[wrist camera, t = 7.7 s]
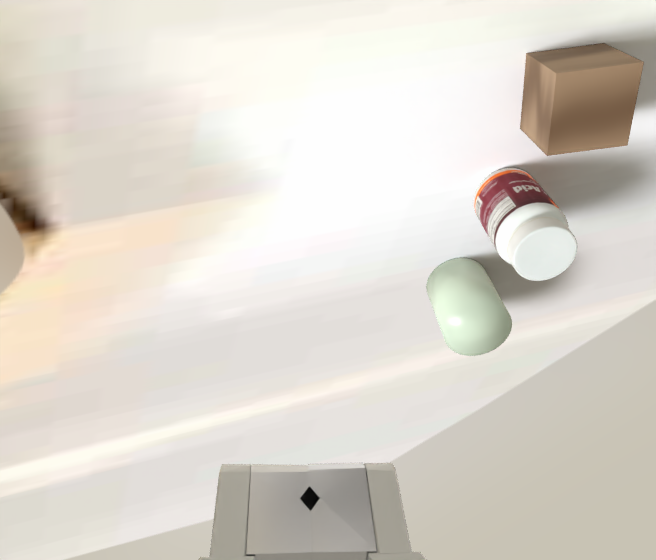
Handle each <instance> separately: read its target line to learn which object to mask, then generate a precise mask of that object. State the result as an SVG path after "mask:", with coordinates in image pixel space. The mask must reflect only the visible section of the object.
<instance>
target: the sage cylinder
mask: <svg viewBox="0 0 656 560" xmlns="http://www.w3.org/2000/svg"><path fill="white" fill-rule="evenodd" d="M426 288H427V294H428V296H429V299H430V302H431V304H432V307H433V310H434V313H435V315H436V318H437V321H438V323H439V326H440V329H441V331H442V334H443V337H444V339H445V342H446V344H447V345H448V347H449V348H450V349H451V350H453V351H454V352H456V353H458V354H461V355H466V356H476V355H481V354H485V353H488V352H490V351H492V350H494V349H496V348H497V347H499V346H500V345H501V344H502V343H503V342H504V341H505V340H506V339H507V337H508V336H509V334H510V331H511V327H512V320H511V317H510V315H509V313H508V311H507V309H506V307H505V306H504V304H503V302H502V300H501V298H500V296H499V295H498V293H497V291H496V289H495V287H494V286H493V284H492V282H491V280H490V278H489V276H488V275H487V273H486V271H485V269H484V268H483V266H482V265H481V264H480V263H478V262H477V261H475V260H472V259H469V258H455V259H451V260H448V261H446V262H444V263H442V264H441V265H439V266H438V267H437V268H435V269H434V271H433V272H432V273H431V274H430V276H429V278H428V281H427V286H426Z"/></svg>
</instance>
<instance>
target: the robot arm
mask: <svg viewBox="0 0 656 560" xmlns="http://www.w3.org/2000/svg"><path fill="white" fill-rule="evenodd" d="M199 560H427V559H426V558H425V557H424V556H423V554H421V552H412V551H411V546H410V541H409V536H408V530H407V526H406V520H405V515H404V510H403V505H402V500H401V494H400V490H399V484H398V479H397V474H396V469H395V467H394V465H393V464H392V463H364V464H363V463H325V464H308V465H263V464H252V466H251V464H222V466H221V469H220V472H219V479H218V487H217V496H216V505H215V513H214V523H213V530H212V539H211V548H210V556H209V557H200V558H199Z"/></svg>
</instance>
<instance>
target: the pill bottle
mask: <svg viewBox="0 0 656 560" xmlns="http://www.w3.org/2000/svg"><path fill="white" fill-rule="evenodd" d="M473 207H474V211H475V213H476V215H477V217H478V219H479V220H480V222H481V224H482V226H483V227H484V229H485V231H486V233H487V234H488V236H489V238H490V240H491V241H492V243H493V245H494V247H495V248H496V250H497V252H498V254H499V255H500V257H501V258H502V259H503V260H505V261H506V262H508V263H509V264H511V265H513V267H514V269H515V270H516V271H517V273H518V274H519V275H521V276H522V277H524V278H526V279H528V280H533V281H542V280H548V279H551V278H553V277H556V276H557V275H559V274H561V273H562V272H564V271H565V270H566V269H567V268H568V267H569V266H570V265H571V263H572V262H573V260H574V258H575V256H576V253H577V242H576V239H575V237H574V235H573V234H572V232H571V231H570V230H569V228H568V222H567V219H566V217H565V215H564V214H563V212H562V211H561V210H560V209H559V208H558V206H557V205H556V204H555V203H554V202H553V200H552V199H551V198H550V197H549V196H548V195H547V193H546V192H545V191H544V190H543V189H542V188H541V187H540V185H539V184H538V183H537V182H536V181H535V180H534V179H533V177H532V176H531V175H530V174H528V173H527V172H525V171H523V170H521V169H517V168H504V169H500V170H497V171H495V172H493V173H491V174H490V175H489V176H487V177H486V178H485V179H484V180H483V181H482V182H481V183H480V185H479V186H478V187H477V189H476V191H475V194H474V199H473Z"/></svg>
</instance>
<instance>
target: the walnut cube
mask: <svg viewBox="0 0 656 560" xmlns="http://www.w3.org/2000/svg"><path fill="white" fill-rule="evenodd" d="M643 64H644V62H643V61H641V60H639V59H636V58H634V57H632V56H630V55H628V54H626V53H624V52H622V51H620V50H617V49H615V48H613V47H611V46H609V45H607V44H605V43H601V44H594V45H586V46H578V47H571V48H563V49H556V50H548V51H541V52H533V53H526V65H525V77H524V89H523V101H522V112H521V124H520V129H521V130H522V131H523V132H524V133H525V134H526V135H527V136H528V137H529V138H530V139H531V140H532V141H533V142H534V143H535V144H536V145H537V146H538V147H539V148H540V149H541V150H542V151H543V152H544V153H545V154H546V155H547V156H549V155H557V154H564V153H572V152H580V151H588V150H595V149H603V148H611V147H619V146H626V145H628V140H629V134H630V129H631V124H632V119H633V114H634V109H635V104H636V99H637V94H638V89H639V84H640V79H641V74H642V69H643Z"/></svg>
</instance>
